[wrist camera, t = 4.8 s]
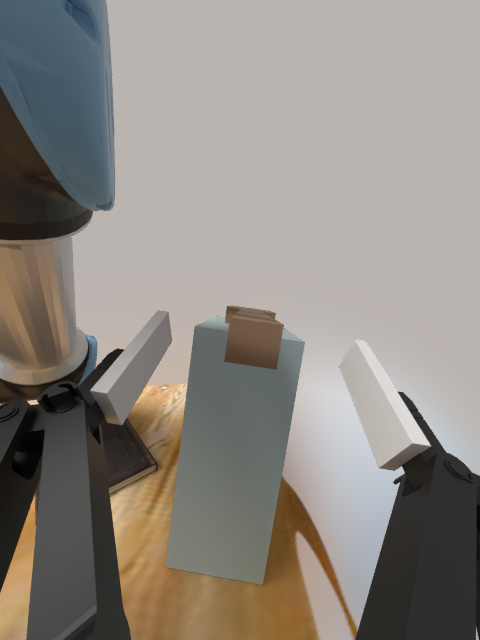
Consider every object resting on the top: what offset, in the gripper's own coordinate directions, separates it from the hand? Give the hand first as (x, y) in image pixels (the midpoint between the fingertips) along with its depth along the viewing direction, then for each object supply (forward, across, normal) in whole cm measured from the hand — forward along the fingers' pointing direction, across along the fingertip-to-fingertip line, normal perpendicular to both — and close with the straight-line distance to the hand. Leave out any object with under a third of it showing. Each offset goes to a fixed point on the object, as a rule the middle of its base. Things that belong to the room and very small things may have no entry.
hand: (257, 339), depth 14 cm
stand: (-3, 0, -34) cm, 34 cm away
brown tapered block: (+8, -1, -5) cm, 10 cm away
